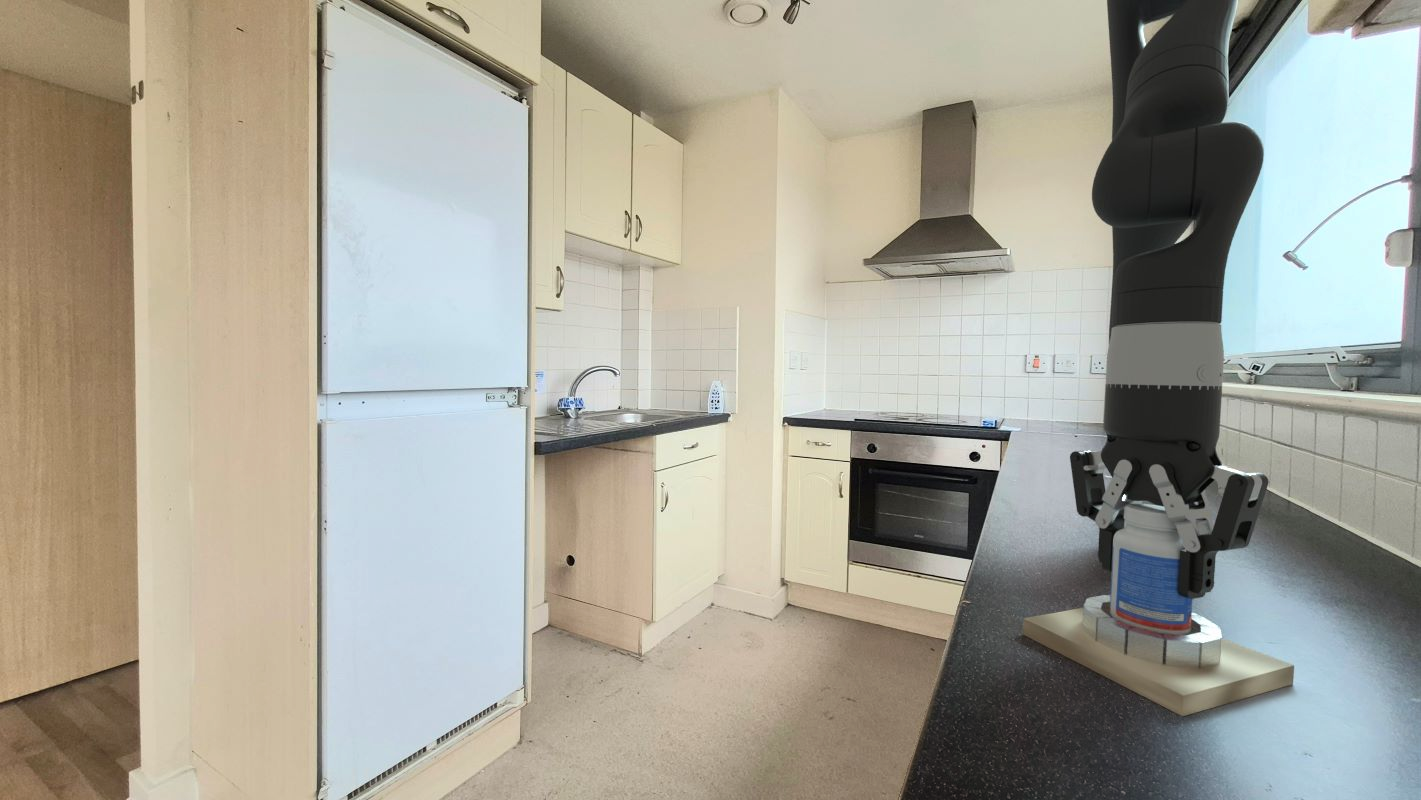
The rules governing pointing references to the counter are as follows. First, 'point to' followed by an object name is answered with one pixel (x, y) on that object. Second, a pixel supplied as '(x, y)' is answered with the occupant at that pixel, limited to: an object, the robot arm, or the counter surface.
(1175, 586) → the pill bottle
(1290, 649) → the counter surface
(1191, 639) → the steel collar
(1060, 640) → the carrier plate
